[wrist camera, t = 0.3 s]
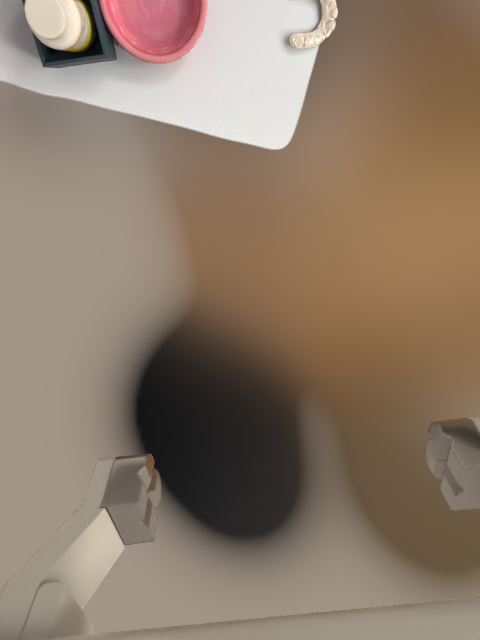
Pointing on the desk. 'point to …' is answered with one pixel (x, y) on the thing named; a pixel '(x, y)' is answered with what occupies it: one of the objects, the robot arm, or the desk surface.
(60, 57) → the tub
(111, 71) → the desk surface
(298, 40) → the dentures
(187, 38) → the saucer
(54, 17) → the supplement bottle
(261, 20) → the desk surface
